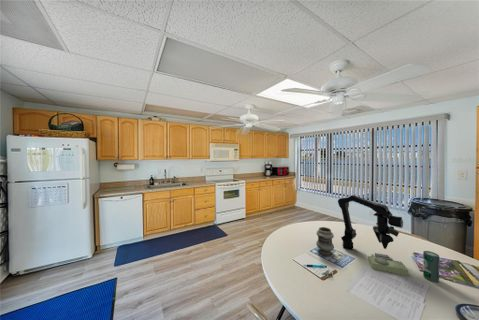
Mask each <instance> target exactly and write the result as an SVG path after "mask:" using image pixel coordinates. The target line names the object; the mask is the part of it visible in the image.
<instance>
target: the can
mask: <svg viewBox="0 0 479 320" xmlns="http://www.w3.org/2000/svg"><path fill="white" fill-rule="evenodd" d="M422 257H423V258H422V259H423V261H422V263H423V264H422V269H423V271H422V273H423V274H422V275H423V278H424V279H426V280H427V281H430V282H433V283H440V255H439V254H438V253H436V252H433V251H429V250H424V251H423V254H422Z"/></svg>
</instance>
